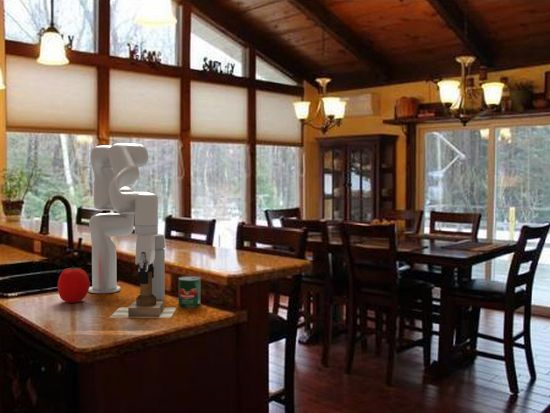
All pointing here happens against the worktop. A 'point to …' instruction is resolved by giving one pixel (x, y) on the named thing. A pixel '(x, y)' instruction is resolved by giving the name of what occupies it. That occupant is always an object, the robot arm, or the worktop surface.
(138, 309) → the walnut base block
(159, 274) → the water bottle
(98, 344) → the worktop surface
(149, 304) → the brown wooden pepper mill
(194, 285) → the canned tomato
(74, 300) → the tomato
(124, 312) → the birch board
